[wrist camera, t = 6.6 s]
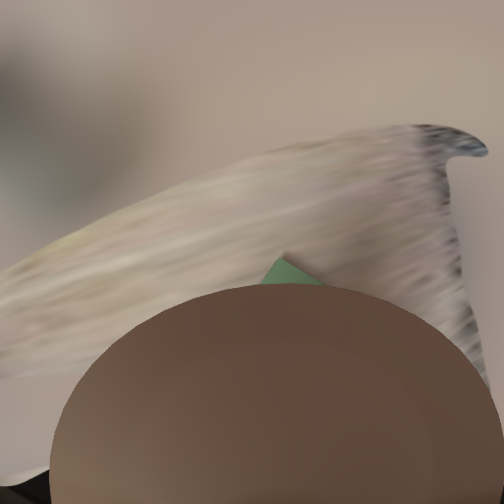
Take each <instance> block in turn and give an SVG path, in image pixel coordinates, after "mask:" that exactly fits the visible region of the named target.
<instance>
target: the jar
mask: <svg viewBox="0 0 504 504" xmlns="http://www.w3.org/2000/svg"><path fill="white" fill-rule="evenodd" d="M49 483H50V493H51V501H52V504H500V500H501V496H502V492H503V485H504V437H503V432H502V428H501V423H500V419H499V415H498V412H497V410H496V407H495V404H494V402H493V399H492V397H491V394H490V392H489V390H488V389H487V387H486V385H485V383H484V382H483V380H482V378H481V377H480V375H479V373H478V372H477V370H476V369H475V367H474V366H473V365H472V364H471V363H470V361H469V360H468V359H467V358H466V356H465V355H464V354H463V353H462V352H461V350H460V349H459V348H458V347H456V346H455V345H454V344H453V343H452V342H451V341H450V340H449V339H448V338H446V337H445V336H444V335H443V334H442V333H441V332H440V331H438V330H437V329H435V328H434V327H432V326H431V325H429V324H428V323H426V322H425V321H423V320H422V319H420V318H419V317H417V316H416V315H414V314H412V313H410V312H408V311H406V310H404V309H402V308H400V307H398V306H395V305H393V304H391V303H389V302H387V301H384V300H381V299H378V298H375V297H372V296H369V295H366V294H363V293H360V292H356V291H351V290H346V289H341V288H336V287H330V286H325V285H311V284H298V283H282V284H258V285H252V286H246V287H239V288H233V289H226V290H223V291H219V292H215V293H212V294H208V295H205V296H201V297H197V298H194V299H191V300H189V301H186V302H184V303H182V304H179V305H177V306H174V307H172V308H169V309H167V310H165V311H163V312H161V313H159V314H157V315H156V316H154V317H152V318H150V319H148V320H147V321H145V322H143V323H141V324H140V325H138V326H136V327H135V328H134V329H132V330H131V331H130V332H128V333H127V334H125V335H124V336H123V337H121V338H120V339H119V340H117V341H116V342H115V343H113V344H112V345H111V346H110V347H109V348H108V349H107V350H106V351H105V352H104V353H103V354H102V355H101V356H100V357H99V358H98V359H97V360H96V361H95V362H94V363H93V364H92V365H91V367H90V368H89V369H88V371H87V372H86V373H85V375H84V376H83V377H82V379H81V380H80V381H79V382H78V384H77V385H76V387H75V389H74V391H73V392H72V394H71V396H70V398H69V399H68V401H67V403H66V405H65V407H64V409H63V412H62V414H61V417H60V420H59V423H58V425H57V428H56V431H55V435H54V439H53V444H52V449H51V455H50V471H49Z"/></svg>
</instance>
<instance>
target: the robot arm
mask: <svg viewBox="0 0 504 504" xmlns="http://www.w3.org/2000/svg"><path fill="white" fill-rule="evenodd" d="M49 471H50V469H49V470H47V471H45V472H43V473H41V474H39V475H37V476H35V477H33V478H31V479H29V480H28V481H25V482H23V483H21V484H18V485H14V486H0V504H52V501H51V493H50V483H49ZM500 504H504V485H503V492H502V496H501V500H500Z"/></svg>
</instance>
